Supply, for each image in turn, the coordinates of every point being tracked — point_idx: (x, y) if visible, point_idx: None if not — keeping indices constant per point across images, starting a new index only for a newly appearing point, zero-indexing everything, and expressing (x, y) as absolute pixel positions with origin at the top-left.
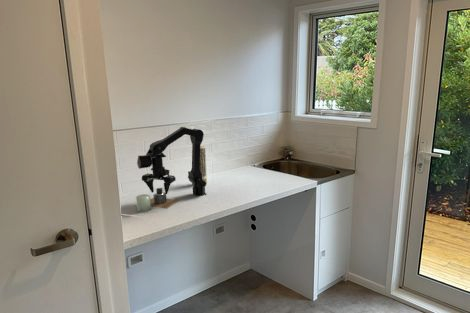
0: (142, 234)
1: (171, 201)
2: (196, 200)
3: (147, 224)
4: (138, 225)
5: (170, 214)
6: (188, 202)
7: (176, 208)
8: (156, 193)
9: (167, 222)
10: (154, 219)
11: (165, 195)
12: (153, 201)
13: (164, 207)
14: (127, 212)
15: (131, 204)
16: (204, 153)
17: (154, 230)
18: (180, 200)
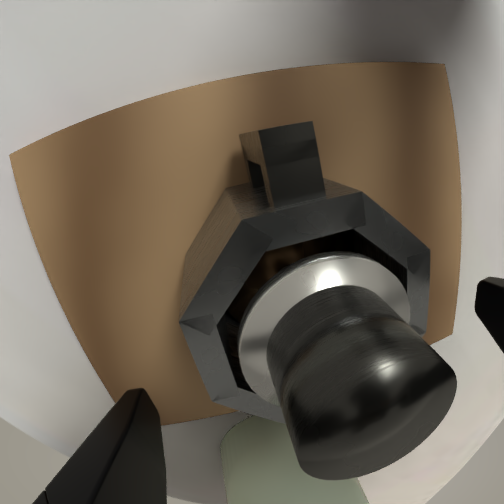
0: (439, 488)
1: (389, 150)
2: (498, 7)
3: (422, 471)
4: (390, 494)
5: (486, 356)
6: (493, 71)
7: (489, 256)
8: (260, 379)
9: (493, 409)
10: (430, 442)
11: (422, 268)
12: (153, 288)
13: (423, 336)
14: (192, 496)
15: (35, 410)
16: None
17: (466, 460)
18: (445, 71)
